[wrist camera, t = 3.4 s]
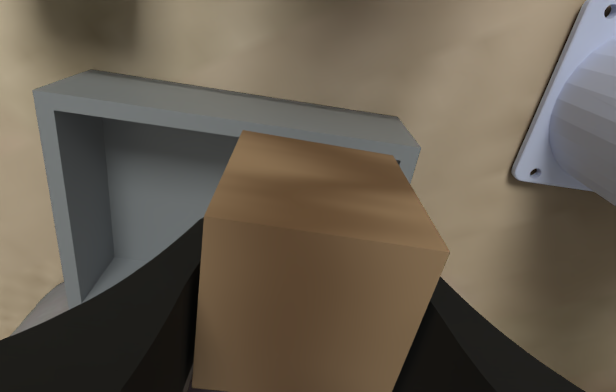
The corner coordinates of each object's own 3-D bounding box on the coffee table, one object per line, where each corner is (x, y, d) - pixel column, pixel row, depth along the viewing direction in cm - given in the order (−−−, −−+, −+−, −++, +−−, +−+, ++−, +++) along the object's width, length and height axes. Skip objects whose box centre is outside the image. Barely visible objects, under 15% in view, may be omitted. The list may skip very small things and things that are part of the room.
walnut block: (392, 155, 12) (450, 252, 7) (357, 274, 14) (385, 408, 9) (242, 129, 11) (203, 216, 7) (229, 256, 13) (191, 387, 9)
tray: (397, 116, 18) (421, 147, 14) (351, 286, 22) (361, 342, 19) (90, 69, 17) (32, 89, 13) (108, 258, 21) (69, 311, 18)
